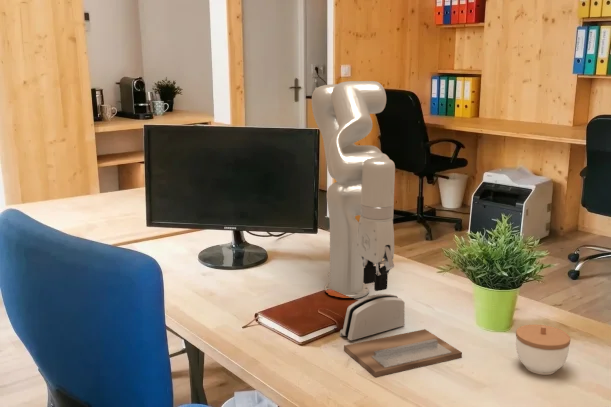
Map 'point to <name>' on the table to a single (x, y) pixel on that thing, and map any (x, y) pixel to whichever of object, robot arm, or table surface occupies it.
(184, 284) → the table surface
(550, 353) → the lidded jar
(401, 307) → the white arched block
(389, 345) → the mounting board
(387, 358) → the plate
